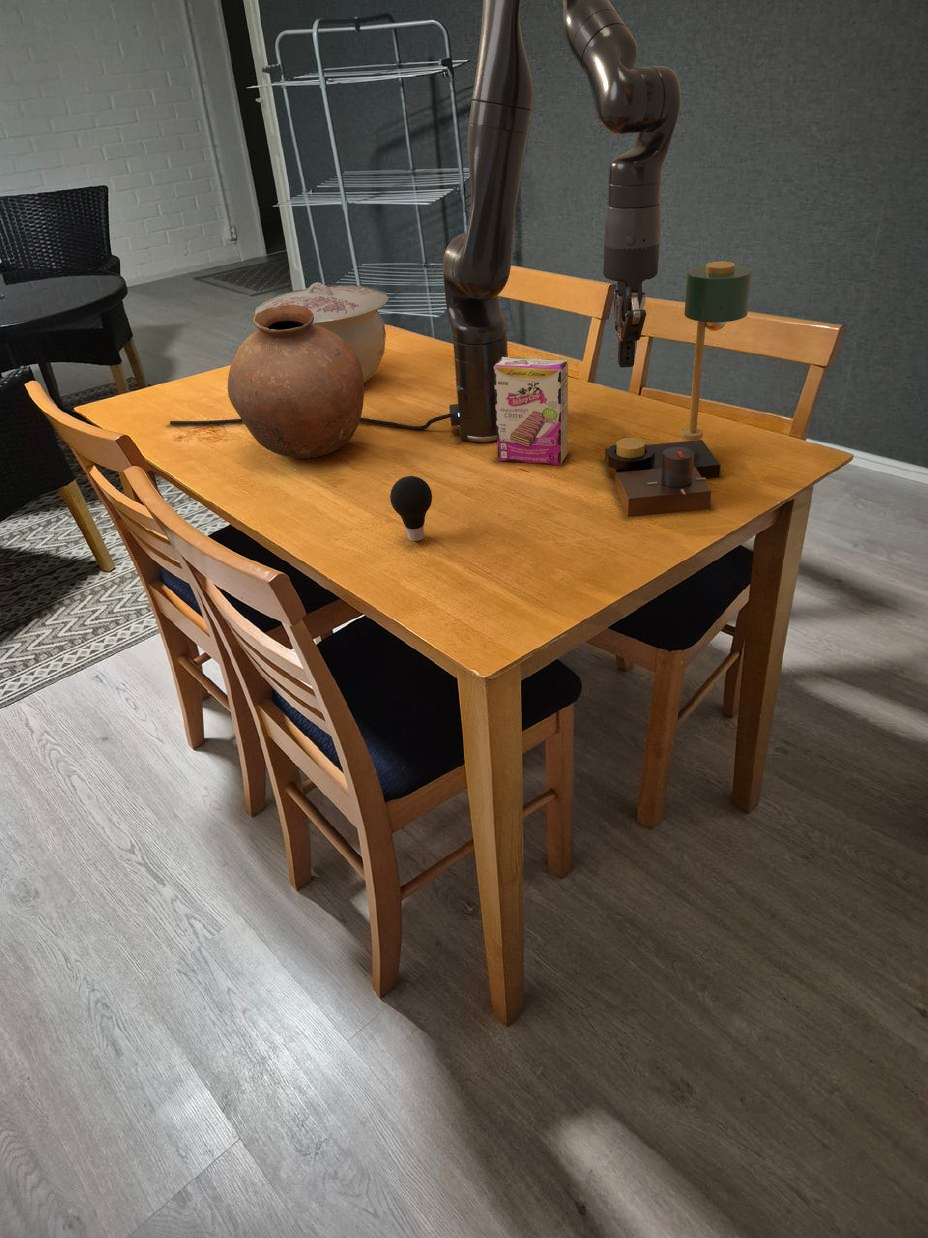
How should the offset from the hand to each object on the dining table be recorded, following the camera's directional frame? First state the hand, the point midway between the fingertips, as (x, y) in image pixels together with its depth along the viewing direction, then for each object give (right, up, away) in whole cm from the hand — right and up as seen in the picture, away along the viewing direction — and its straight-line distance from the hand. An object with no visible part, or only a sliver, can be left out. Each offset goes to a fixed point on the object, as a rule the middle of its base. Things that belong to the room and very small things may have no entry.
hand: (625, 365), depth 126 cm
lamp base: (+7, -14, +10) cm, 18 cm away
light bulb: (-31, -27, -4) cm, 41 cm away
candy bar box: (-12, -11, +17) cm, 24 cm away
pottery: (-52, -8, +27) cm, 59 cm away
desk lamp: (+15, -8, +10) cm, 19 cm away
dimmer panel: (+6, -20, +1) cm, 21 cm away
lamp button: (+2, -12, +7) cm, 14 cm away
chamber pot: (-52, +13, +57) cm, 78 cm away
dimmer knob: (+7, -17, -1) cm, 19 cm away
